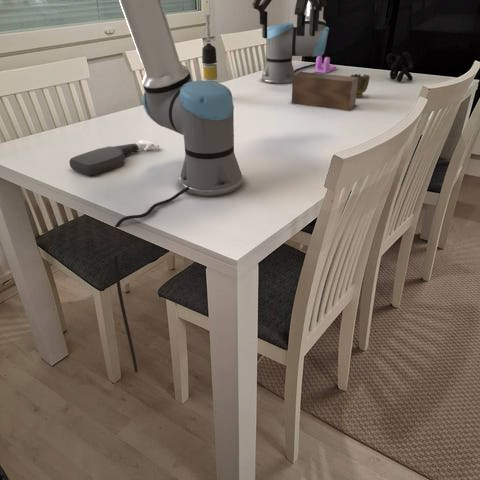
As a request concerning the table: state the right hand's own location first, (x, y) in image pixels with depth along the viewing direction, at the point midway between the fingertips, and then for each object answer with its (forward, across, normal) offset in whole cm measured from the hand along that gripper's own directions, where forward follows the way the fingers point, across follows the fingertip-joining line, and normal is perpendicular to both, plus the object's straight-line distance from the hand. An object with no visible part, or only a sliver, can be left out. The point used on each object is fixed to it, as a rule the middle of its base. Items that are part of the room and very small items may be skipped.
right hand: (307, 33), depth 160 cm
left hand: (-4, +39, +9) cm, 41 cm away
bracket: (+24, -59, -11) cm, 65 cm away
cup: (+24, -16, +17) cm, 33 cm away
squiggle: (+24, -52, +26) cm, 63 cm away
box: (+24, 0, +8) cm, 26 cm away
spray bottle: (+24, +78, -25) cm, 85 cm away
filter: (+24, +11, -35) cm, 44 cm away
